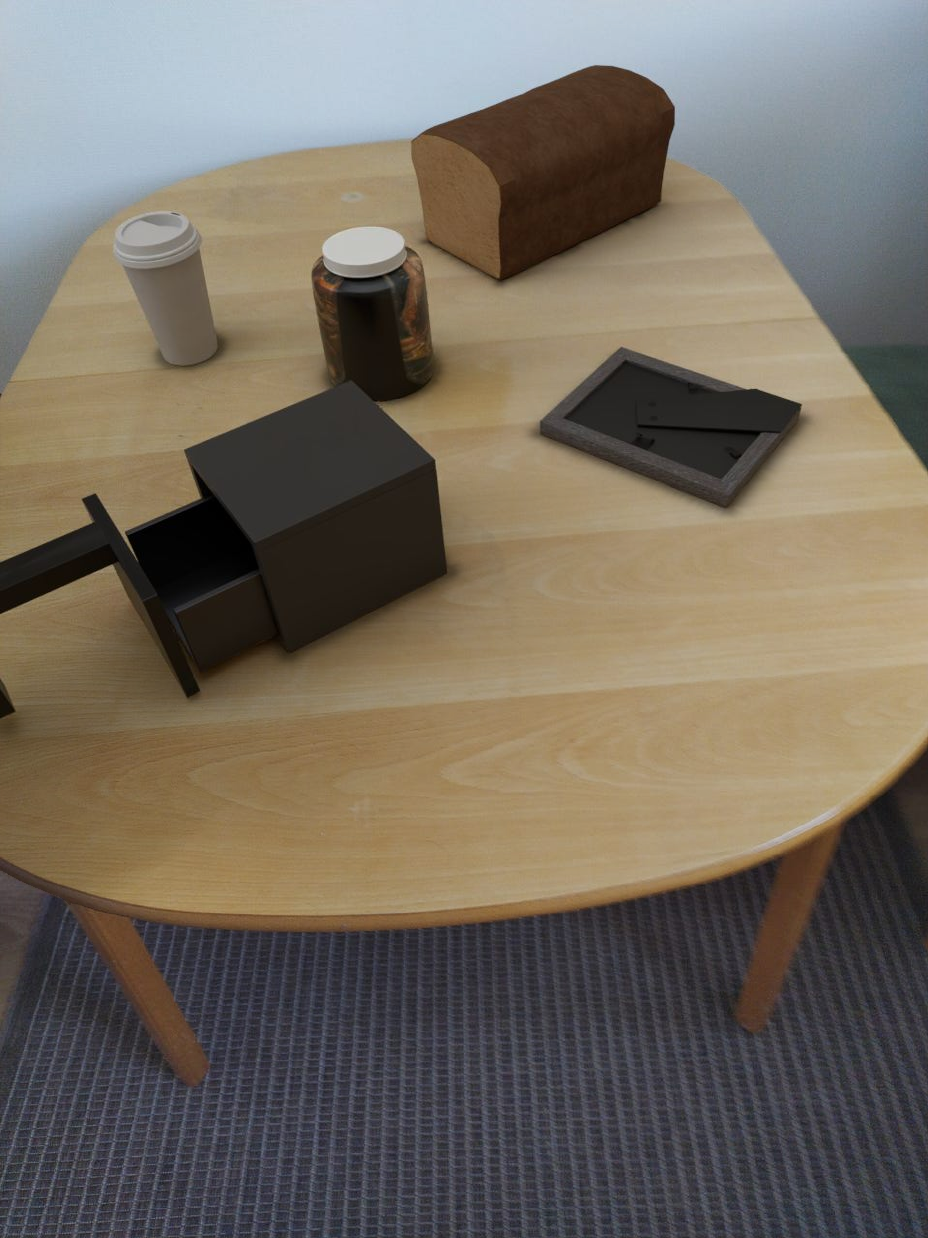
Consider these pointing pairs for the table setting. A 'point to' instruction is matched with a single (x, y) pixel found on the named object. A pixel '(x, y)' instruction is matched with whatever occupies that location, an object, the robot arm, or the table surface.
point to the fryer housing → (328, 508)
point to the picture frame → (672, 424)
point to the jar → (373, 312)
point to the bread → (544, 168)
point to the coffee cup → (169, 283)
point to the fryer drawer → (160, 582)
